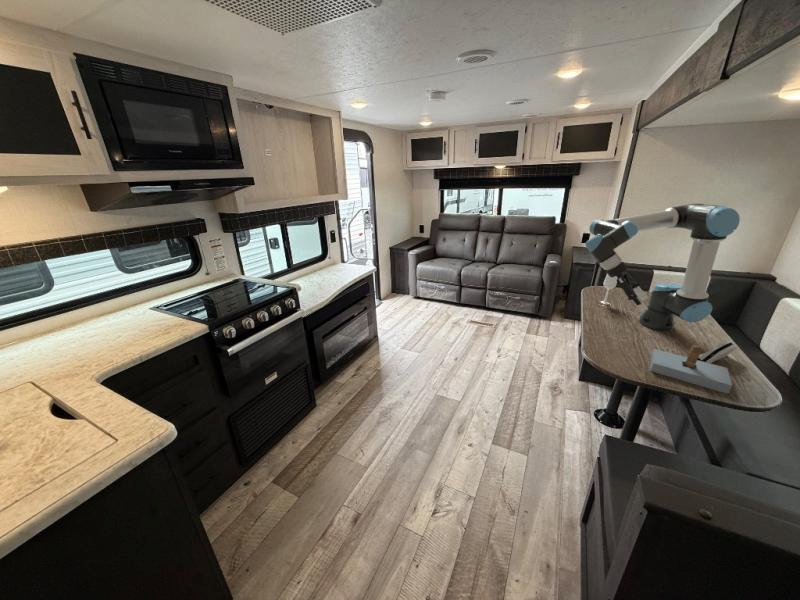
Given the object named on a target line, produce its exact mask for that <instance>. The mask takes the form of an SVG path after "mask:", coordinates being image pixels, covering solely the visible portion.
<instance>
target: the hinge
mask: <svg viewBox="0 0 800 600" xmlns="http://www.w3.org/2000/svg"><path fill="white" fill-rule="evenodd" d="M737 348H738V346H737V345H736V344H734V343H733V342H732V341H730V340H724V341H722V342H721V343H719V344H718V345H715V346H713V347H711V348H710V349H709V350H708V351H706V352H703V353H700V355H699V357H698V359H700V361H702V362H706V363H710V364H713V363H714V362H717V361H718V360H721V359H722V358H724V357H726V356H728V355H730V354H731V353H732V352H733V351H735V349H737Z"/></svg>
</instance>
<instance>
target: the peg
mask: <svg viewBox="0 0 800 600" xmlns="http://www.w3.org/2000/svg"><path fill="white" fill-rule="evenodd" d="M702 349H703V347H702V346H700V345H696V344H693V345H691V348H690V350H689V353H688V354H687V356H686V357H687V360H686V362H685V365H684V367H687V368H691V369H694V366H695V364H696V362H697V360H698V359H699V358H698V357H699V355H701V352H702Z"/></svg>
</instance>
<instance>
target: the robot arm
mask: <svg viewBox="0 0 800 600" xmlns="http://www.w3.org/2000/svg"><path fill="white" fill-rule="evenodd" d="M740 220H741V217H740V213H739V212H738V211H737V210H735V209H734V208H732V207H728V206H723V205H715V204H704V203H691V204H690V203H689V204H683V205H678V206H677V205H676V206H671V207H668V208H665V209H664V210H662V211H661V210H660V211H657V212H656V211H655V212H649V213H644V214H637V215H632V216H627V217H626V216H625V217H620V218H615V219H614V218H613V219H607V220H604V219H595V220H593V221H592V222H591V224H590V226H589V232H590V234H592V235H593V237H591V238H590V239H588V240H587V241H586V242H585V243H584V244H585V245H584V246H585V247H586V248H587V250H588V251H589V253H590V254H591V255H592V256H593V258H594V259H595V260H596V261H597V262H598V263H599V267H600V268H601V267H602V268H603V270H605V273H606V275H607V274H608V275H609V276H610V277H615V276H616V277H617V283H618V284H619V286H620V287H621V289H622V291H624V293H625V295H626V296H627V300H628V301H632V303H633V304H634V305H635V306H636V308H637V309H638V310H639V312H640V313H642V314H641V315H640V316H639V318H638V322H639V323H640V324H641V325H643V326H644V327H647V328H650V329H654V330H656V331H657V330H658V331H665V332H666V331H667V332H668V331H672V330H673V329H674V328H675V317H678V318H680V319H681V320H682V321H683V320H684V321H686V322H689V323H698V322H701V321H703V320H704V319H706V318H707V317H709V316H710V315H711V313H712V311H713V305H712V303H710V302H709V301H708V300H709V297H710V295H709V294H708V292H707V287H708V285H709V280H710V278H711V274H712V270H713V266H714V263H715V260H716V257H717V254H718V250H719V247H720V243H721V242H722V241H724V240H726V239H727V237H728V236H730V235H731V234H733V233H734V232H735V231H736V230H737V228H738V227H739V224H740ZM661 228H665V229H676V228H678V229H686V230H688V231H690V232H691V233H690V238H691V239H692V240H693V242H692V245H691V251H690V255H689V258H688V261H687V265H686V269H685V273H684V277H683V281H682V285H679V284H674V283H673V284H672V283H657V284H655V285H654V286H653V289H652V292H651V295H650V297H648V296H647V294H646V293H645V292H644V290H642V288H641V287H640V286H641V283H640V282H638V281H637V280H635V279H634V278H633V276H632V275H630V274H629V273H628V271H627V270H628V268H629V267H628V265H626V264H625V262H624V261H622V260H623V259H622V258H621V257H620V256H619V254H618V253H617V252H616V251H615V249H617V248H618V247H620V246H621V245H623V244H624V243H626V242H628V241H629V240H631V239H632V238H634V236H636V235H637V234H638V232H642V231H649V230H654V229H661ZM647 299H649V300H648V305H646V304H645V303H644V301H645V300H647Z"/></svg>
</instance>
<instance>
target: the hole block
mask: <svg viewBox="0 0 800 600" xmlns="http://www.w3.org/2000/svg"><path fill="white" fill-rule="evenodd" d="M687 357H688V356H683V355H679V354H676V353H671V352H667V351H664V350H660V349H656V348H654V349H653V350H652V353H651V357H650V369H649V370H650V372H652V373H655V374H659V375H663V376H666V377H670V378H673V379H675V380H680V381H684V382H686V383H689V384H694V385H697V386H699V387H703V388H706V389H710V390H714V391H717V392H720V393H724V394H727V395H729V393H730V392H731V389H732V387H733V382H732V380H731V376H730V373H729V370H728V367H725V366H721V365H717V364H714V363H706V362H705V361H703V360H698V359H697V362H696V364H695V366H694V369H691V368H687V367H684V365H685V362H686V360H687Z"/></svg>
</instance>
